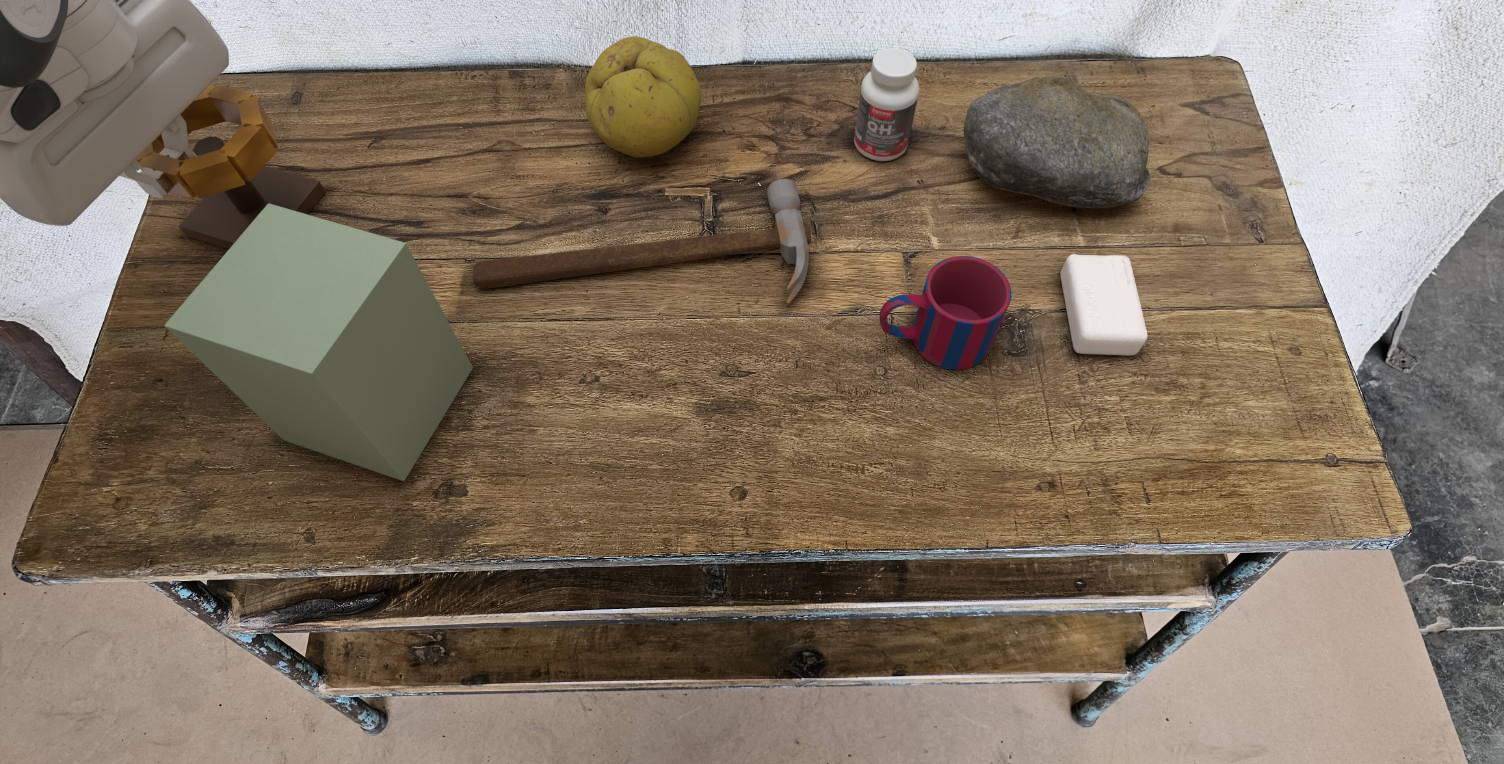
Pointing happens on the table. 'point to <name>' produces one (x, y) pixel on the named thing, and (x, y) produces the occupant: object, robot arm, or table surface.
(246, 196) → the stand
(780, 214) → the hammer
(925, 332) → the cup
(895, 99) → the pill bottle
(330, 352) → the pedestal
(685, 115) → the fruit
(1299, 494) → the table surface
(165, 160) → the ring
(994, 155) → the stone
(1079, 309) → the soap
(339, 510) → the table surface
